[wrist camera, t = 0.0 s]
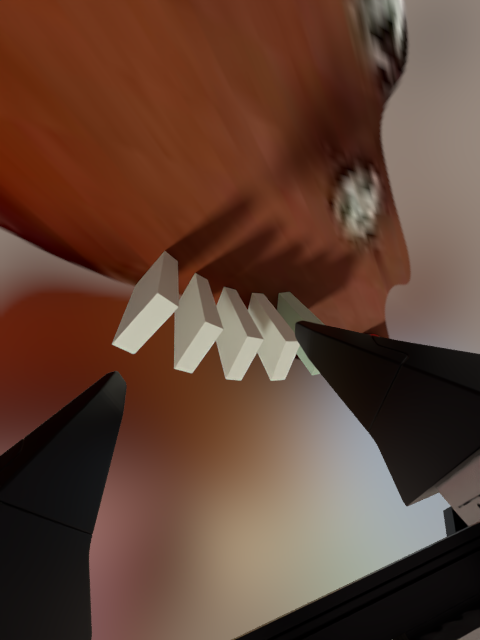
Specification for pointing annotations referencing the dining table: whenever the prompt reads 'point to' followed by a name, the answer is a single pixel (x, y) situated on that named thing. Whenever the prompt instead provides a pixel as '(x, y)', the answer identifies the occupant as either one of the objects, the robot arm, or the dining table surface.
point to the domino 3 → (236, 335)
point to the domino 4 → (273, 337)
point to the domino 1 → (149, 304)
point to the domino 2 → (195, 324)
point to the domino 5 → (293, 313)
